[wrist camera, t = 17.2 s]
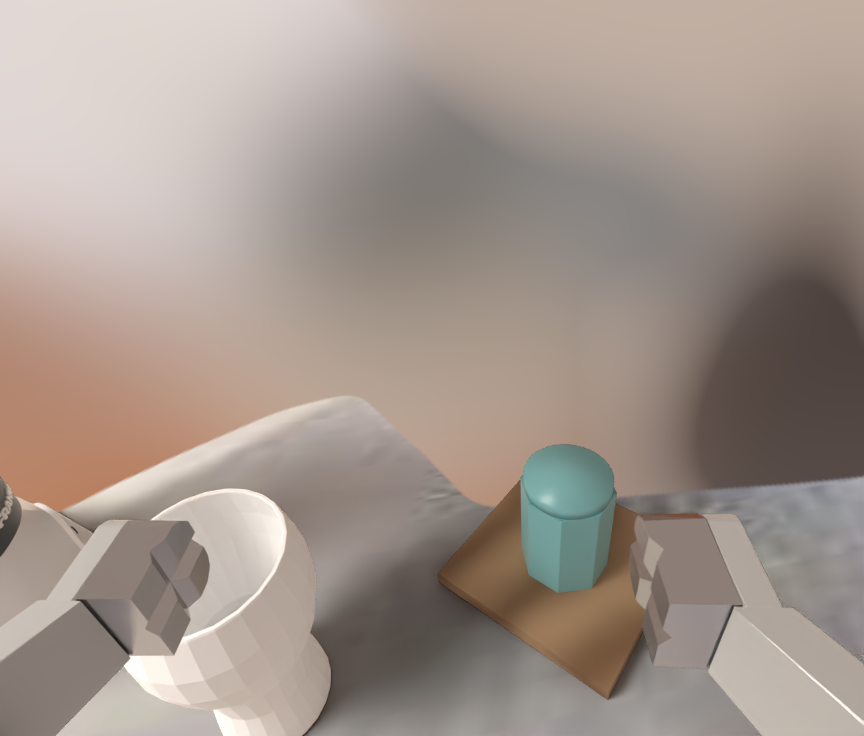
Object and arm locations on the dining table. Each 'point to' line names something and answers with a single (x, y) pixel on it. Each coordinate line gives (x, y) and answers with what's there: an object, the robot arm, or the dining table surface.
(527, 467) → the teal octagonal jar
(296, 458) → the dining table surface
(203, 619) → the cup
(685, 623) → the robot arm
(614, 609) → the square wooden board
